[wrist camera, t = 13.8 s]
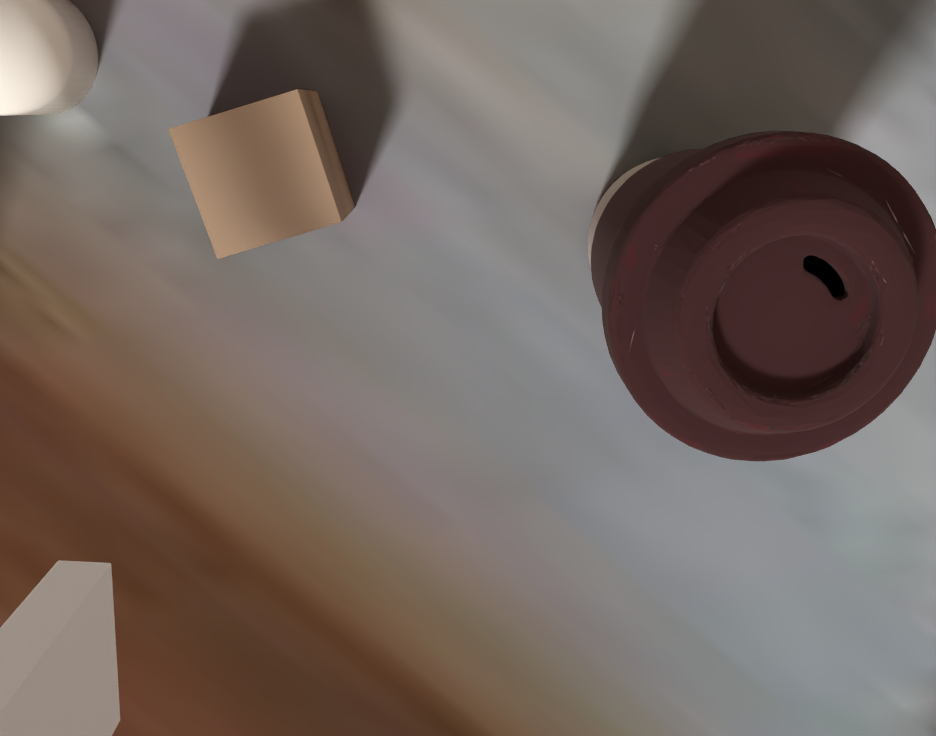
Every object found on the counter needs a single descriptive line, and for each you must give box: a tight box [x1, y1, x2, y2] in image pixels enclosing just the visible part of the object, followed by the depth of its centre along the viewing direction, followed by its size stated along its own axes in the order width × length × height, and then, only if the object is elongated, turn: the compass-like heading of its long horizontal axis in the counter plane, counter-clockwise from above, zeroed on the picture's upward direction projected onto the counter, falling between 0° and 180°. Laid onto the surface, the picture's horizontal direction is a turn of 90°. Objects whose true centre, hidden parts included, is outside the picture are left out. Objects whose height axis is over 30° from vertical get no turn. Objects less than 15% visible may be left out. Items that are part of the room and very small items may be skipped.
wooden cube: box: [168, 89, 355, 259], centre depth 35 cm, size 5×5×5 cm
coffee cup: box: [588, 131, 936, 461], centre depth 31 cm, size 10×10×15 cm
